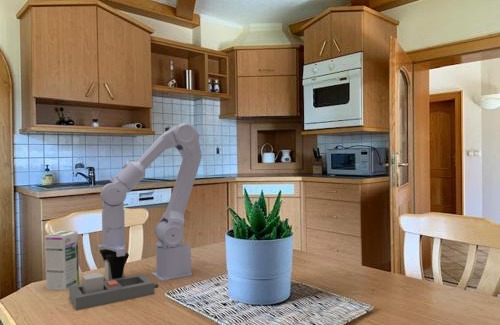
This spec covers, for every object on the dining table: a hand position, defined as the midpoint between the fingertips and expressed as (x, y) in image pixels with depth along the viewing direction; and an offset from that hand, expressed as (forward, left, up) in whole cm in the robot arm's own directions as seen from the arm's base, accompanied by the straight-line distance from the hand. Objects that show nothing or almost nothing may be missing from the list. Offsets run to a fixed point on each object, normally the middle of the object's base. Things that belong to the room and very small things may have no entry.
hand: (114, 277), depth 105 cm
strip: (+2, +10, -2) cm, 10 cm away
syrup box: (+12, -5, -2) cm, 13 cm away
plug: (0, 0, -1) cm, 1 cm away
